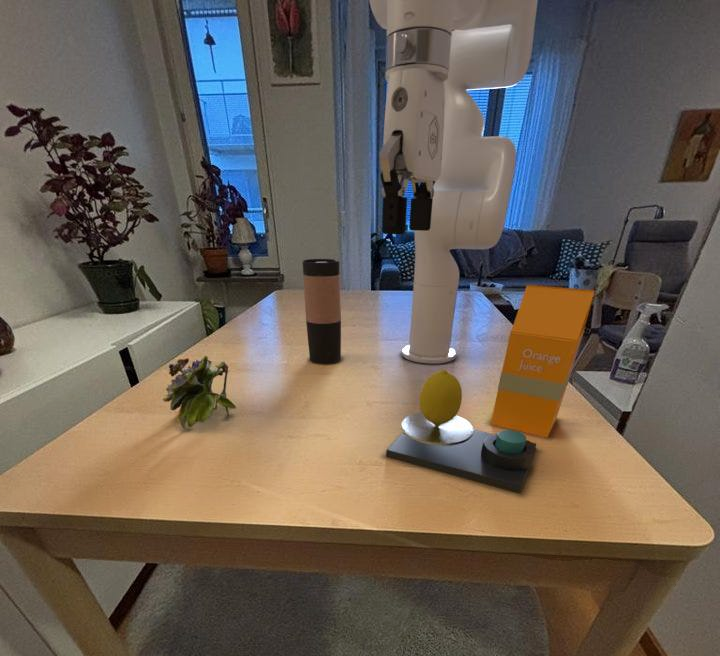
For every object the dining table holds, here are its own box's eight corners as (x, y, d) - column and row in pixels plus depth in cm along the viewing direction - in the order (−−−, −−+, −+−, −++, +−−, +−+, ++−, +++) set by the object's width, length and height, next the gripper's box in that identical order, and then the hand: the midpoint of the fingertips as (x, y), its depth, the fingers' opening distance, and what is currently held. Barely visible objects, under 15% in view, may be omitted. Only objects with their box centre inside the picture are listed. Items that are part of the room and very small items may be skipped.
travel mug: (302, 361, 89) (294, 261, 78) (318, 352, 95) (313, 258, 84) (333, 366, 87) (329, 263, 76) (347, 356, 93) (345, 259, 81)
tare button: (498, 439, 54) (500, 427, 53) (525, 445, 53) (528, 433, 52) (492, 450, 51) (494, 438, 50) (520, 457, 50) (524, 445, 49)
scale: (417, 423, 64) (419, 406, 62) (536, 451, 56) (542, 432, 55) (385, 457, 55) (386, 438, 53) (521, 494, 48) (527, 474, 46)
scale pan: (416, 408, 61) (417, 406, 61) (481, 422, 57) (481, 420, 57) (389, 435, 54) (390, 432, 54) (461, 453, 50) (461, 450, 50)
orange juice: (547, 438, 60) (592, 294, 48) (489, 424, 63) (518, 288, 52) (556, 419, 65) (598, 286, 54) (503, 407, 69) (532, 281, 58)
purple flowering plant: (197, 438, 70) (194, 372, 71) (252, 433, 68) (249, 364, 68) (149, 429, 59) (146, 351, 60) (213, 422, 57) (209, 340, 57)
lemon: (457, 436, 53) (466, 378, 48) (415, 432, 54) (421, 375, 49) (457, 419, 57) (465, 364, 53) (418, 415, 58) (424, 361, 54)
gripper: (421, 34, 39) (408, 236, 49) (468, 75, 52) (450, 229, 61) (355, 45, 42) (355, 234, 52) (414, 82, 54) (406, 228, 64)
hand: (407, 232), depth 57 cm, fingers open, 9 cm apart
